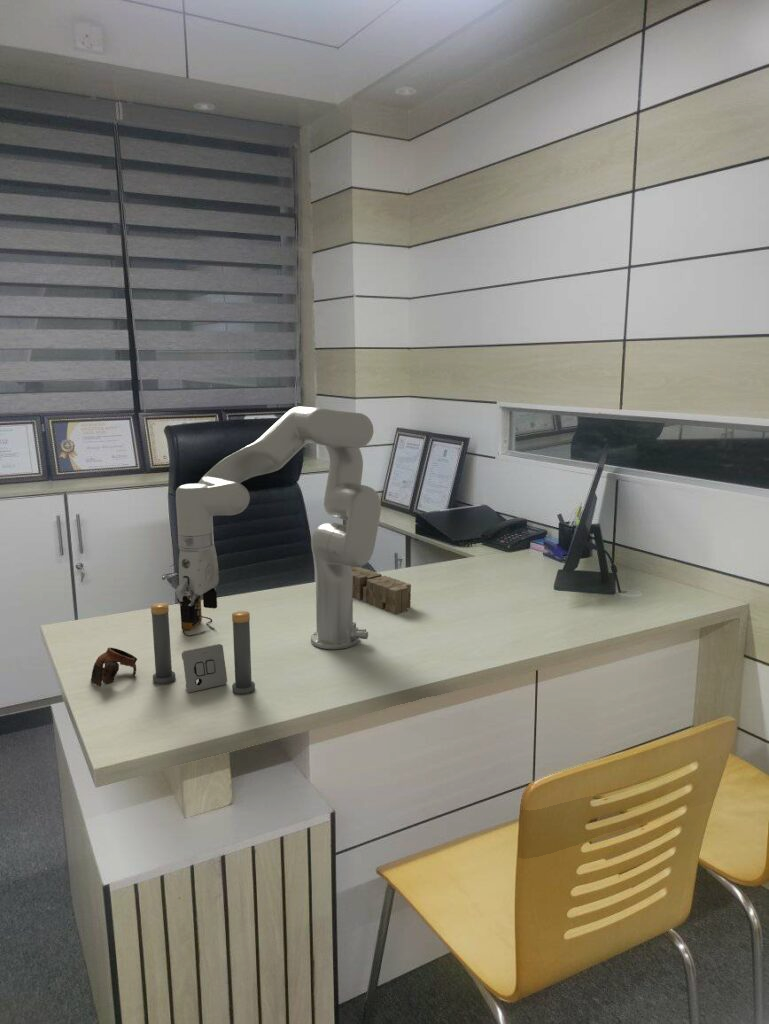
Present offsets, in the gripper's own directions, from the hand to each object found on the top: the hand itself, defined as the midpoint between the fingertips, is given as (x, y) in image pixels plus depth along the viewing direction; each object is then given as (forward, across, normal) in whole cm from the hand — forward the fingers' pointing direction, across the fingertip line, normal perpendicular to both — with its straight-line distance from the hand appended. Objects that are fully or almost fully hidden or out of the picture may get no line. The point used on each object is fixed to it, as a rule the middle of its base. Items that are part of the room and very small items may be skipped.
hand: (199, 614), depth 165 cm
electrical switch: (+17, 0, 0) cm, 17 cm away
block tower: (+17, +68, -21) cm, 73 cm away
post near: (+17, 0, -10) cm, 20 cm away
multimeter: (+17, +33, +18) cm, 41 cm away
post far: (+17, 0, +10) cm, 20 cm away
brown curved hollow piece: (+17, -3, +21) cm, 28 cm away
